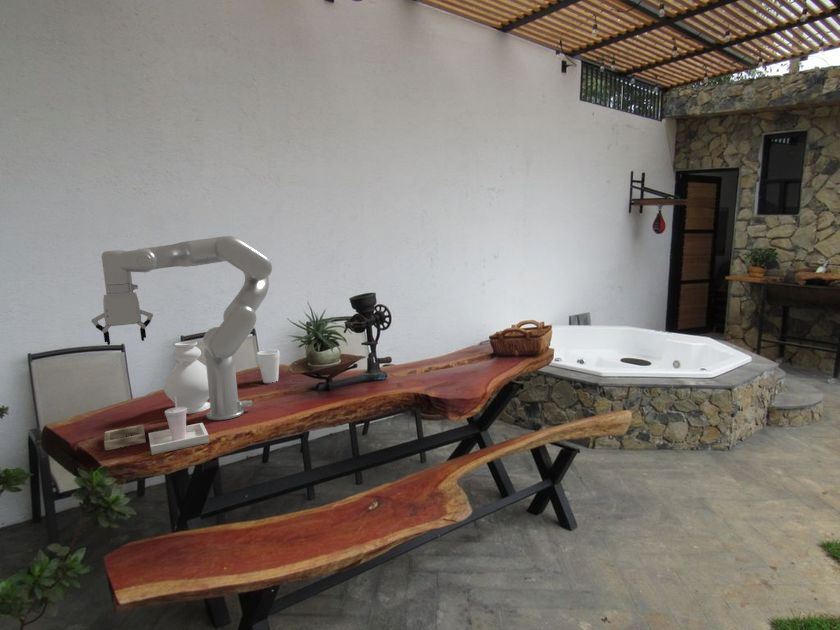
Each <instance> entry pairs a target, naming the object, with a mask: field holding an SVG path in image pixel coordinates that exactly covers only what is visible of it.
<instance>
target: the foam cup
mask: <svg viewBox="0 0 840 630" xmlns="http://www.w3.org/2000/svg"><path fill="white" fill-rule="evenodd" d="M280 353H281V352H280V350H278V349H267V350H261V351H257V353H256V357H257V361H258V364H259V365H258V366H259V368H260V369H259V370H260V373H261V378H262V382H263V383H264V384H273V383H276V381H277V382H278V381H279V370H280V357H281V354H280ZM272 382H273V383H272Z"/></svg>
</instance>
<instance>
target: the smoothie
mask: <svg viewBox="0 0 840 630" xmlns="http://www.w3.org/2000/svg"><path fill="white" fill-rule="evenodd" d="M174 400H175V403H174V407H171V408H168V409H166V410H165V411H164V416H165V417H166V420H167V424H168V427H169V428H168V429H170V432H171V436H172V440H173V441H176V440H181V439H185V438H186V426H187V414H186V412H187V408H186V407H178V405H177V400H176V396H174Z"/></svg>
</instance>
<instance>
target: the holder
mask: <svg viewBox="0 0 840 630" xmlns="http://www.w3.org/2000/svg"><path fill="white" fill-rule="evenodd" d="M131 435H132V436H131ZM103 436H104V439H103V442H104V443H103V444H104V451H110V450H115V449H119V448H120V447H121V448H124V447H125V446H126V447H130V445H131V446H135V445H139V444H140V445H141V444H145V443H146V442H147V441H146V433H145V426H144V424H137V425H134V426H127V427H123V428H116V429H112V430H106V431H104V435H103ZM126 436H127V437H126Z"/></svg>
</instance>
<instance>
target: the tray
mask: <svg viewBox="0 0 840 630" xmlns="http://www.w3.org/2000/svg"><path fill="white" fill-rule="evenodd" d="M147 434H148V441H149V447H150V453H151V455H152V456H153V455H157V454H158V455H159V454H162V453H166V452H170V451H175V450H180V449H186V448H190V447H194V446H199V445H200V446H201V445H203V444H209V443H210V437H209V433H208V430H207V429H206V427H205V424H204V423H203V422H199V423H194V424H193V423H192V424H190V425H186V438H185V439H181V440H176V441H173V440H172V436H171V432H170V428H168V429H161V430H158V431H157V430H156V431H153V432H148V433H147Z"/></svg>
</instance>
